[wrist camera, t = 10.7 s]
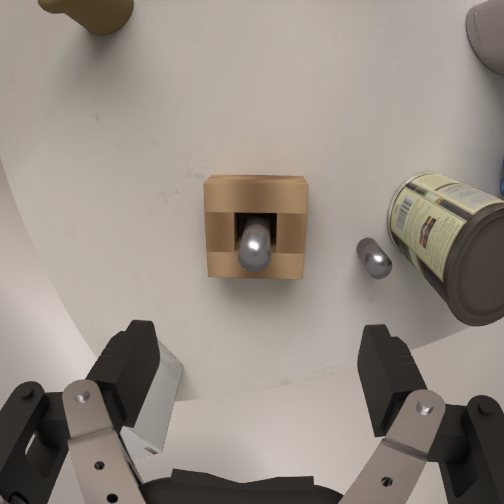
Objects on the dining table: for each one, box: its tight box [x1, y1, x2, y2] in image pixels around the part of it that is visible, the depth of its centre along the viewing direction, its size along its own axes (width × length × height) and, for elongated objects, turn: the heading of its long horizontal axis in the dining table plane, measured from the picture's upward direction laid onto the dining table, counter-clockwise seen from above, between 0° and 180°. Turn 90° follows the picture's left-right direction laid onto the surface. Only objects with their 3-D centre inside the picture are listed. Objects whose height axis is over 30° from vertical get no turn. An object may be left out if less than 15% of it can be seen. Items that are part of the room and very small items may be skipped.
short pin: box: [357, 238, 392, 279], centre depth 32 cm, size 2×2×5 cm
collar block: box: [204, 175, 308, 279], centre depth 31 cm, size 9×9×4 cm
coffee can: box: [387, 172, 504, 326], centre depth 26 cm, size 10×10×14 cm
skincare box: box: [120, 342, 183, 460], centre depth 34 cm, size 8×6×15 cm
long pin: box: [238, 213, 271, 272], centre depth 29 cm, size 2×2×10 cm
